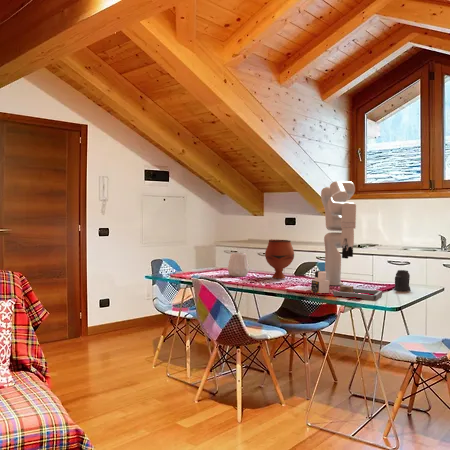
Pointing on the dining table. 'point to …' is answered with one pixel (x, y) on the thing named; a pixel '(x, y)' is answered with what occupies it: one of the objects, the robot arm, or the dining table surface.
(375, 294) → the tray
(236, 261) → the vase
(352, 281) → the dining table surface
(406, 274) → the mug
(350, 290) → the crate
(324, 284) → the medicine bottle
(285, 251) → the goblet
